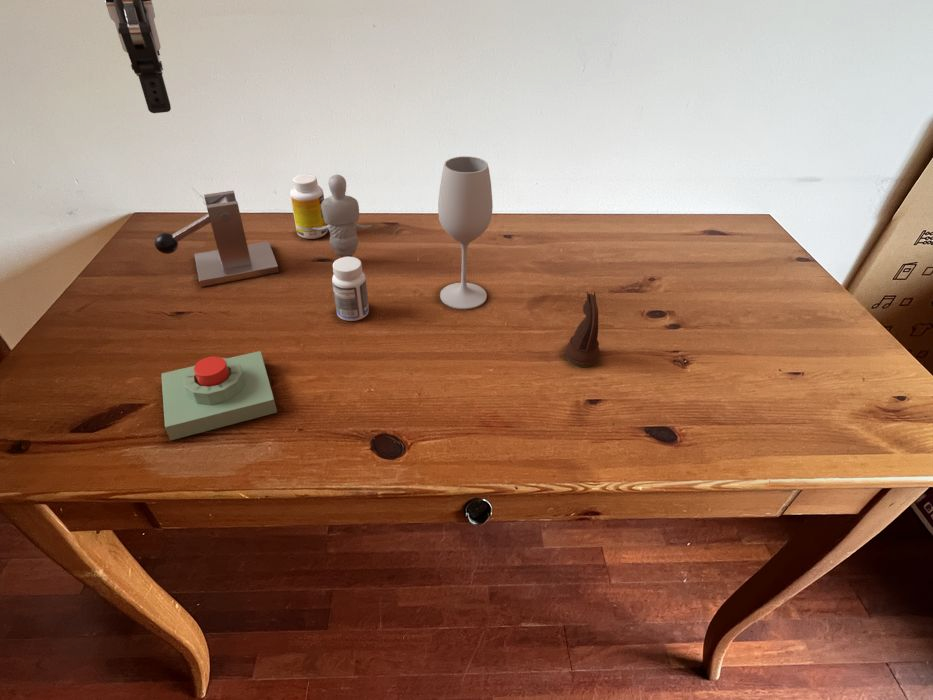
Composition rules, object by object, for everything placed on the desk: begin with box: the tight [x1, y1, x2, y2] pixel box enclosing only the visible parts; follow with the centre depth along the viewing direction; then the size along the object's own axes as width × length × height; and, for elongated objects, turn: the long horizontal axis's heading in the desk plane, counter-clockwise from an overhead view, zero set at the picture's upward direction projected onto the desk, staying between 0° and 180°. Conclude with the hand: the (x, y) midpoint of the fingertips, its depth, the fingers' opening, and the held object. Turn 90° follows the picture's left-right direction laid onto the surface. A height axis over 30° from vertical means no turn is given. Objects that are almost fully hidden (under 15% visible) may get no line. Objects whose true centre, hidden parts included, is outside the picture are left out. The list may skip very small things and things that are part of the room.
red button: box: [194, 355, 229, 387], centre depth 72 cm, size 4×4×2 cm
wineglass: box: [437, 155, 494, 310], centre depth 87 cm, size 8×8×21 cm
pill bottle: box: [331, 256, 370, 322], centre depth 87 cm, size 5×5×8 cm
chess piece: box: [564, 291, 600, 368], centre depth 79 cm, size 5×5×10 cm
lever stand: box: [194, 190, 280, 288], centre depth 96 cm, size 12×9×12 cm
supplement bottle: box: [289, 173, 329, 240], centre depth 106 cm, size 6×6×10 cm
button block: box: [160, 350, 278, 441], centre depth 73 cm, size 12×10×4 cm
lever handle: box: [154, 197, 230, 255], centre depth 93 cm, size 13×3×3 cm, turn 114°
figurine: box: [312, 174, 373, 258], centre depth 97 cm, size 9×4×15 cm, turn 99°
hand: (160, 110), depth 65 cm, fingers closed
